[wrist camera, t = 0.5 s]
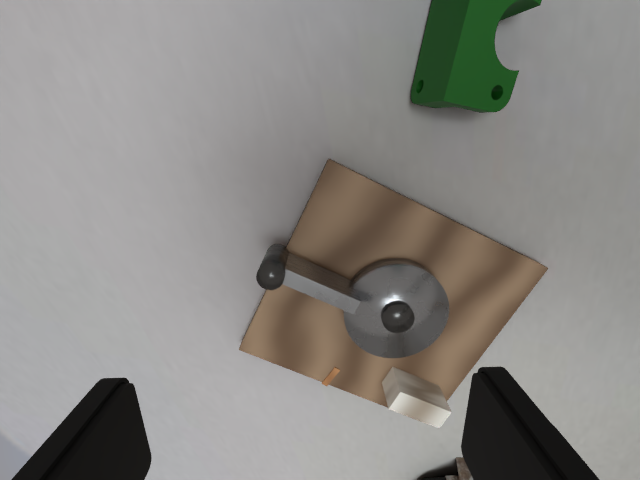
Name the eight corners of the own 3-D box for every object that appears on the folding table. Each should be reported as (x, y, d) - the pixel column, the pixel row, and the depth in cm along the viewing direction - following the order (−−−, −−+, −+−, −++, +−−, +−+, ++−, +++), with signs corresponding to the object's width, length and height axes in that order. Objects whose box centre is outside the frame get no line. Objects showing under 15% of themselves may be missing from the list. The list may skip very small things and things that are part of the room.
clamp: (445, 97, 31) (492, 134, 25) (395, 85, 30) (432, 122, 24) (518, -51, 24) (606, -48, 18) (457, -77, 23) (532, -82, 17)
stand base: (538, 262, 32) (576, 284, 28) (424, 414, 39) (439, 454, 34) (328, 158, 29) (330, 162, 24) (241, 342, 35) (228, 375, 31)
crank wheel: (460, 282, 31) (488, 311, 26) (409, 358, 34) (424, 397, 29) (289, 202, 29) (282, 217, 24) (248, 292, 32) (235, 321, 27)
